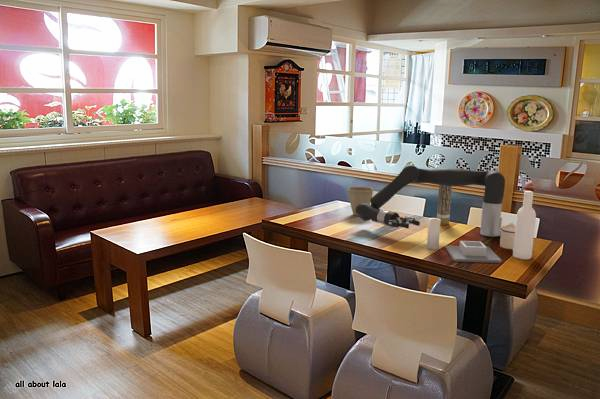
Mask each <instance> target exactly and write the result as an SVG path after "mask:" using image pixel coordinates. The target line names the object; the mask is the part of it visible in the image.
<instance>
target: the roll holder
mask: <svg viewBox="0 0 600 399" xmlns="http://www.w3.org/2000/svg"><path fill="white" fill-rule="evenodd" d="M444 246H445V247H444V248H445V249H446V251H447V253H448V255H450V257H451V259H452V261H454V262H456V263H457V262H460V263H461V262H462V263H485V264H486V263H491V264H502V262H503V260H502V259H501V258H500V257H499V256H498V255H497V254H496V253H495V252H494V251H493V250H492V248H491V247H490V246H486V245H485V244H484V243H483V242H482V241H480V240H479V241H477V240H476V241H475V240H460V241H459V245H446V244H445V245H444Z"/></svg>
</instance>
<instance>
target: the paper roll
mask: <svg viewBox="0 0 600 399" xmlns="http://www.w3.org/2000/svg"><path fill="white" fill-rule="evenodd" d="M440 221H441V220H440V219H438V218H437V217H430V218H428V226H427V238H426V248H427V249H428V250H432V251H433V250H434V251H435V250H439V248H440V235H441V234H440V233H441V231H440V230H441V224H440Z"/></svg>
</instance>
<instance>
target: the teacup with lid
mask: <svg viewBox="0 0 600 399" xmlns="http://www.w3.org/2000/svg"><path fill="white" fill-rule="evenodd" d="M515 228H516V225H515V224H514V222H509V224H506V225H505V226H501V234H500V238H499V247H500V248H502V249H506V250H513V248H514V238H515Z"/></svg>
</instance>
